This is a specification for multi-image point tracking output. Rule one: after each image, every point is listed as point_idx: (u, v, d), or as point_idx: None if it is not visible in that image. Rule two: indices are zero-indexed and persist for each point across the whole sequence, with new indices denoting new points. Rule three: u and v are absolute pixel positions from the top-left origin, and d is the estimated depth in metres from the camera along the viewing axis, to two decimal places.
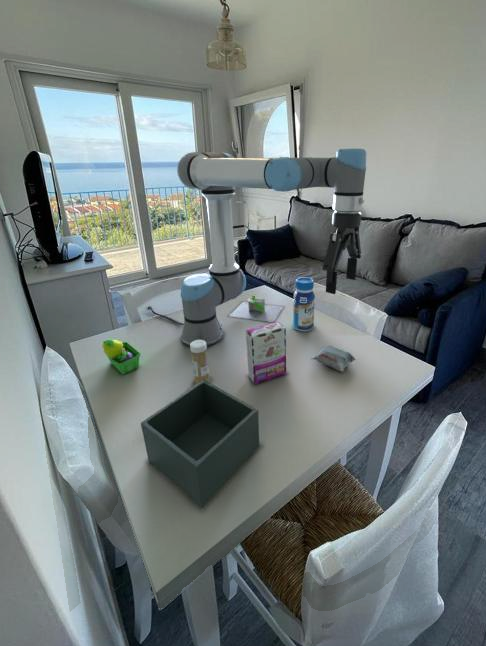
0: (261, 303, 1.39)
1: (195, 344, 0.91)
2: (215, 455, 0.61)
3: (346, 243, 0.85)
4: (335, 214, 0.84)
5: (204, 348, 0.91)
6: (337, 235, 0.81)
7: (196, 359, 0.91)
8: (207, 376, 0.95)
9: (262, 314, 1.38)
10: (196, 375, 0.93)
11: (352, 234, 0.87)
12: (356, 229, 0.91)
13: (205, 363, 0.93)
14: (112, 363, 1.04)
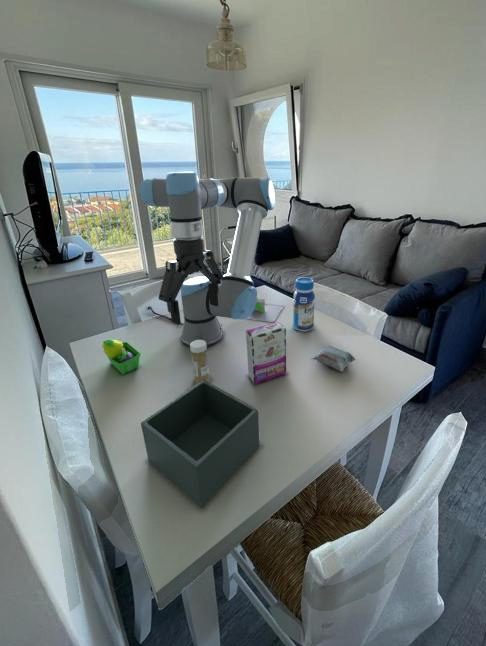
0: (261, 303, 1.39)
1: (195, 344, 0.91)
2: (215, 455, 0.61)
3: (187, 271, 0.80)
4: (173, 240, 0.79)
5: (204, 348, 0.91)
6: (170, 264, 0.76)
7: (196, 359, 0.91)
8: (207, 376, 0.95)
9: (262, 314, 1.38)
10: (196, 375, 0.93)
11: (197, 261, 0.82)
12: (208, 254, 0.86)
13: (205, 363, 0.93)
14: (112, 363, 1.04)
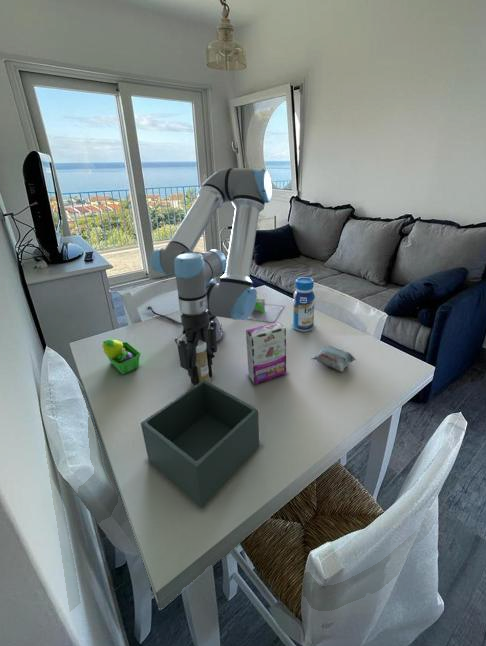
0: (261, 303, 1.39)
1: None
2: (215, 455, 0.61)
3: (196, 341, 0.88)
4: (181, 314, 0.86)
5: (204, 348, 0.91)
6: (179, 342, 0.85)
7: (196, 359, 0.91)
8: (207, 376, 0.95)
9: (262, 314, 1.38)
10: None
11: (203, 329, 0.89)
12: (212, 325, 0.93)
13: (205, 363, 0.93)
14: (112, 363, 1.04)
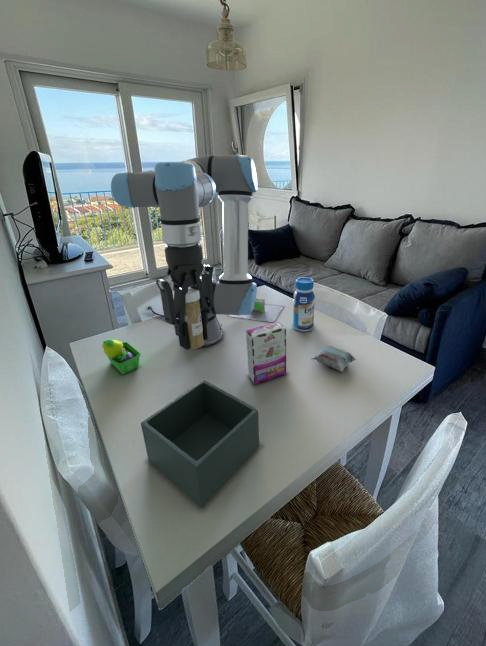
0: (261, 303, 1.39)
1: None
2: (215, 455, 0.61)
3: (185, 285, 0.66)
4: (165, 247, 0.64)
5: (196, 297, 0.68)
6: (162, 284, 0.62)
7: (185, 312, 0.68)
8: (201, 337, 0.72)
9: (262, 314, 1.38)
10: None
11: (195, 271, 0.67)
12: (208, 269, 0.71)
13: (198, 318, 0.70)
14: (112, 363, 1.04)
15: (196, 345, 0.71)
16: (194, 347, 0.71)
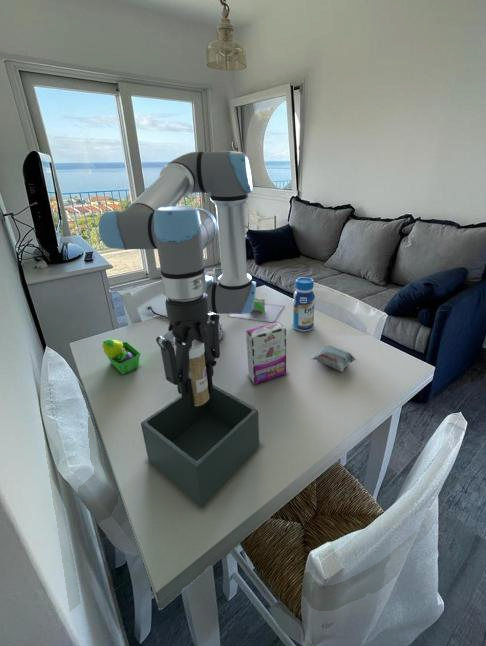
0: (261, 303, 1.39)
1: None
2: (215, 455, 0.61)
3: (189, 341, 0.59)
4: (165, 300, 0.57)
5: (201, 352, 0.61)
6: (163, 344, 0.55)
7: (189, 368, 0.61)
8: (206, 392, 0.65)
9: (262, 314, 1.38)
10: None
11: (199, 323, 0.60)
12: (213, 318, 0.64)
13: (203, 374, 0.63)
14: (112, 363, 1.04)
15: (201, 402, 0.65)
16: (198, 404, 0.64)
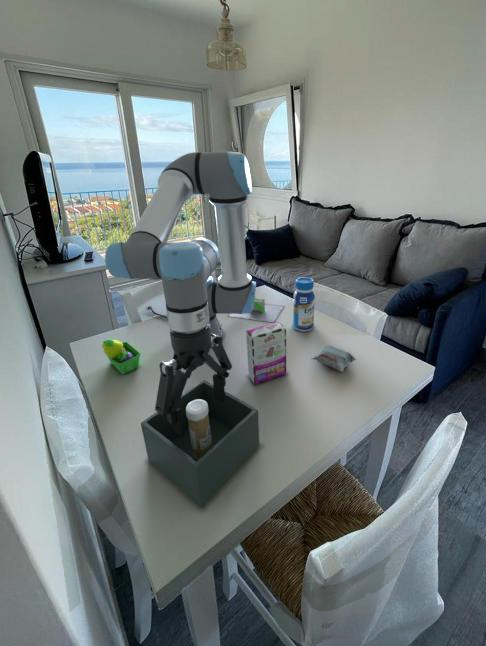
0: (261, 303, 1.39)
1: (193, 407, 0.66)
2: (215, 455, 0.61)
3: (189, 370, 0.60)
4: (170, 331, 0.59)
5: (204, 414, 0.66)
6: (166, 368, 0.57)
7: (193, 428, 0.66)
8: (209, 448, 0.70)
9: (262, 314, 1.38)
10: (194, 447, 0.68)
11: (202, 353, 0.62)
12: (216, 341, 0.66)
13: (206, 433, 0.68)
14: (112, 363, 1.04)
15: None
16: None
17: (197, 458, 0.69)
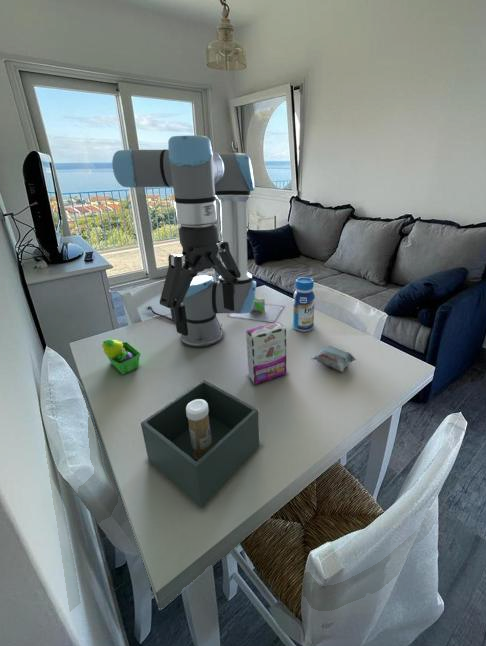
0: (261, 303, 1.39)
1: (193, 407, 0.66)
2: (215, 455, 0.61)
3: (197, 267, 0.62)
4: (179, 228, 0.61)
5: (204, 414, 0.66)
6: (175, 258, 0.58)
7: (193, 428, 0.66)
8: (209, 448, 0.70)
9: (262, 314, 1.38)
10: (194, 447, 0.68)
11: (209, 254, 0.64)
12: (223, 246, 0.67)
13: (206, 432, 0.68)
14: (112, 363, 1.04)
15: None
16: None
17: (197, 458, 0.69)
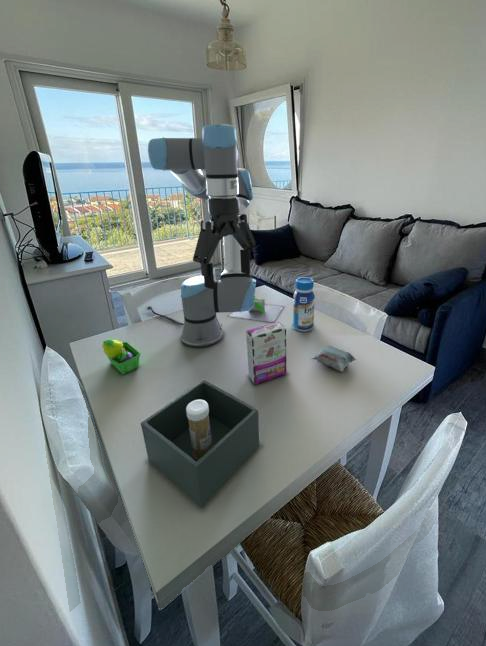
0: (261, 303, 1.39)
1: (193, 408, 0.66)
2: (215, 455, 0.61)
3: (222, 232, 0.76)
4: (208, 199, 0.75)
5: (205, 414, 0.66)
6: (206, 222, 0.73)
7: (193, 428, 0.66)
8: (209, 448, 0.70)
9: (262, 314, 1.38)
10: (194, 447, 0.68)
11: (232, 222, 0.78)
12: (242, 217, 0.82)
13: (206, 433, 0.67)
14: (112, 363, 1.04)
15: None
16: None
17: (197, 458, 0.69)
